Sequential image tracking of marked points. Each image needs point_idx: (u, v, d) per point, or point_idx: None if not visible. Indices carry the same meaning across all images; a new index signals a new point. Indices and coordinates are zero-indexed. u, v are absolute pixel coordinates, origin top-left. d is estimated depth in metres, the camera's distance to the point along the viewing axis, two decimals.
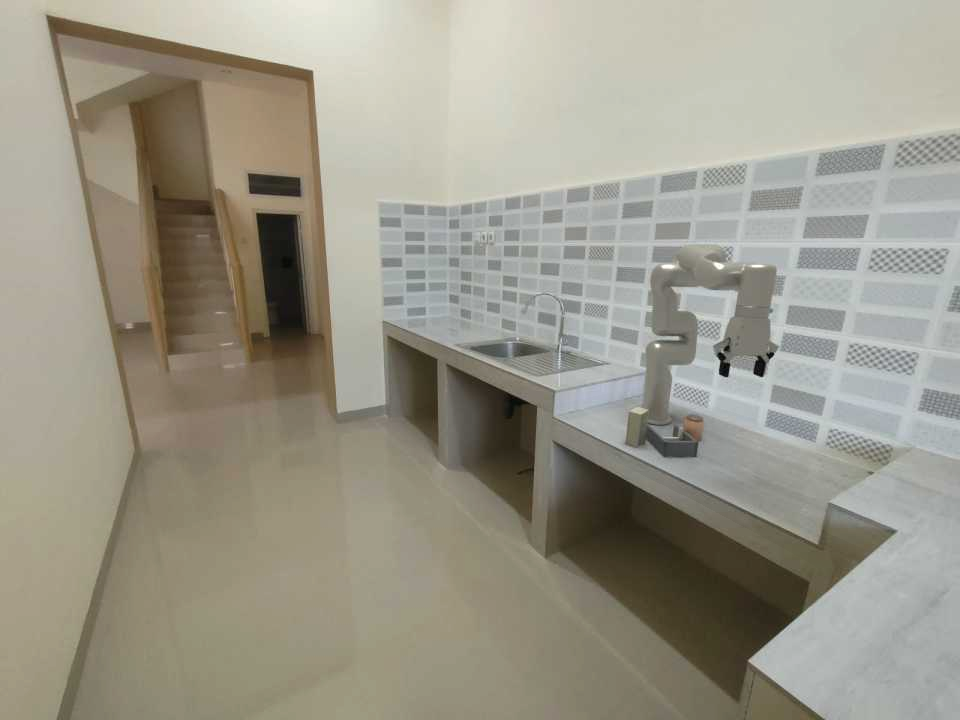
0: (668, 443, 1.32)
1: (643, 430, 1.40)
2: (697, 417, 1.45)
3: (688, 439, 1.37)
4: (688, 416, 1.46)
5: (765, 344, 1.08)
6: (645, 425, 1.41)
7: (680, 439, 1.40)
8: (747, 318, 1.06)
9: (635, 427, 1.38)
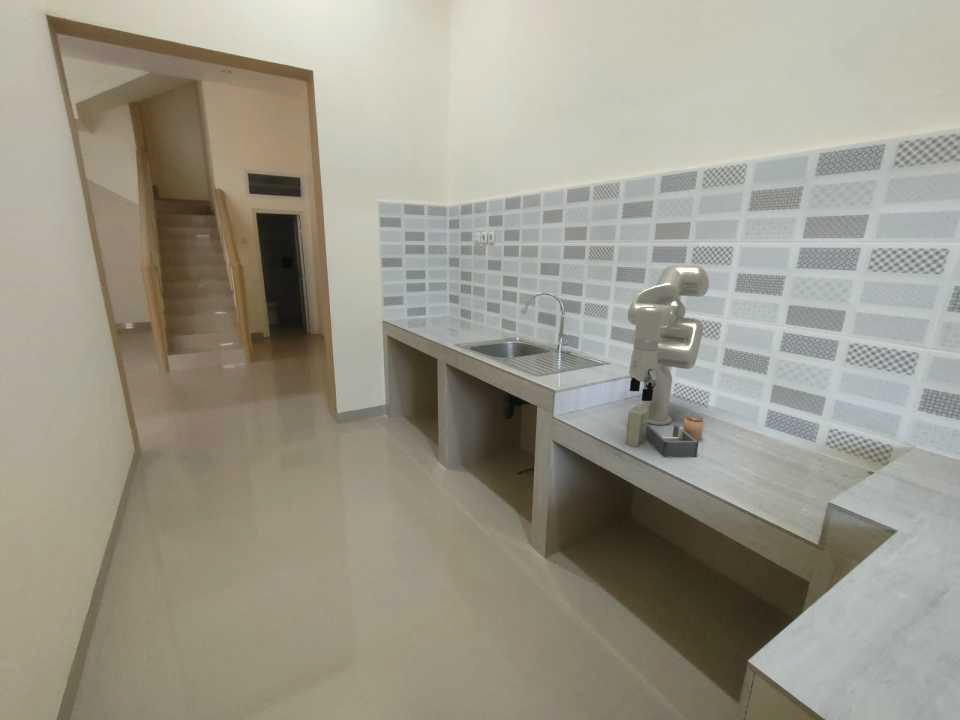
0: (668, 443, 1.32)
1: (643, 430, 1.40)
2: (697, 417, 1.45)
3: (688, 439, 1.37)
4: (688, 416, 1.46)
5: None
6: (645, 425, 1.41)
7: (680, 439, 1.40)
8: (657, 350, 1.32)
9: (635, 427, 1.38)
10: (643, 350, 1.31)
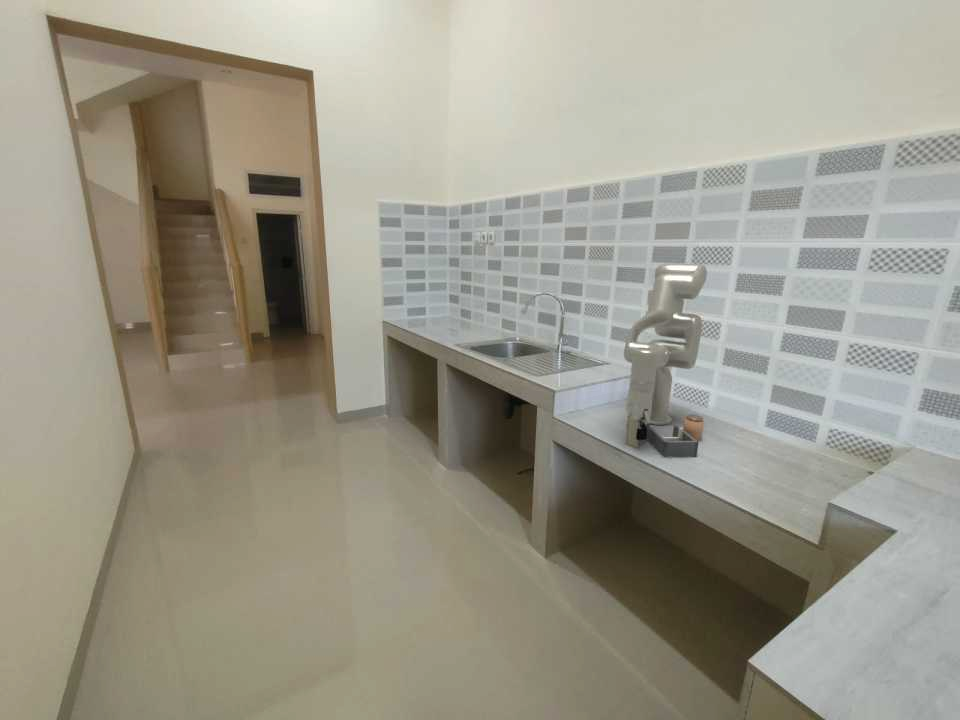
0: (668, 443, 1.32)
1: None
2: (697, 417, 1.45)
3: (688, 439, 1.37)
4: (688, 416, 1.46)
5: None
6: None
7: (680, 439, 1.40)
8: (652, 390, 1.35)
9: (635, 427, 1.38)
10: (639, 390, 1.35)
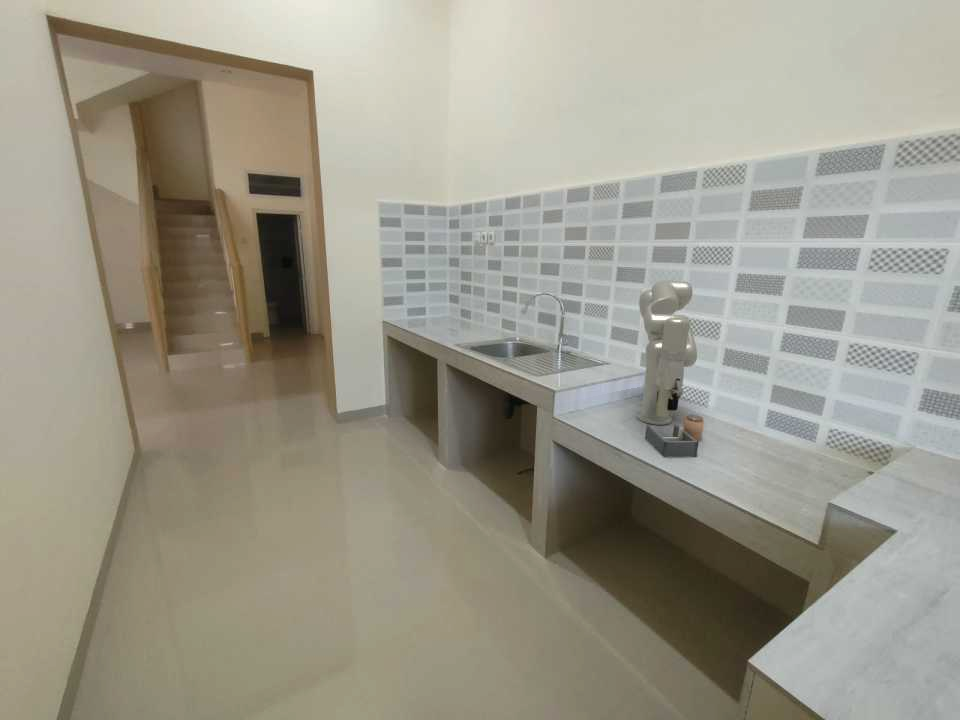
0: (668, 443, 1.32)
1: None
2: (697, 417, 1.45)
3: (688, 439, 1.37)
4: (688, 416, 1.46)
5: None
6: None
7: (680, 439, 1.40)
8: (684, 360, 1.36)
9: (666, 397, 1.38)
10: (670, 360, 1.35)
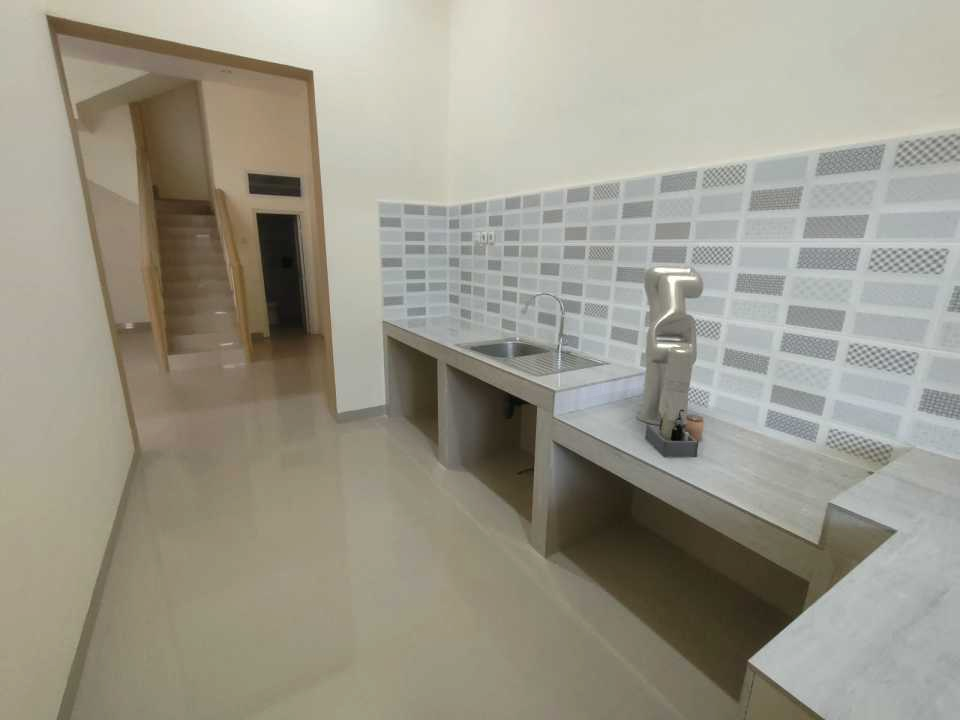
0: (668, 443, 1.32)
1: None
2: (697, 417, 1.45)
3: (688, 439, 1.37)
4: (688, 416, 1.46)
5: None
6: None
7: None
8: (688, 390, 1.33)
9: (670, 428, 1.36)
10: (674, 391, 1.32)
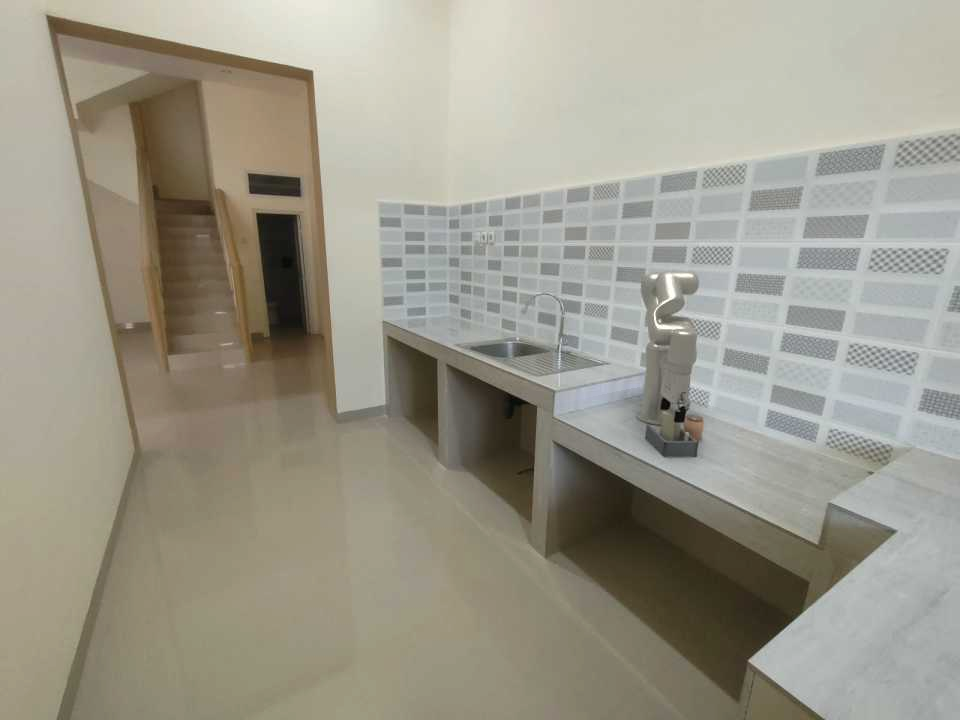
0: (668, 443, 1.32)
1: (677, 433, 1.38)
2: (697, 417, 1.45)
3: (688, 439, 1.37)
4: (688, 416, 1.46)
5: None
6: (679, 427, 1.39)
7: None
8: (690, 373, 1.32)
9: (669, 429, 1.36)
10: (676, 373, 1.31)
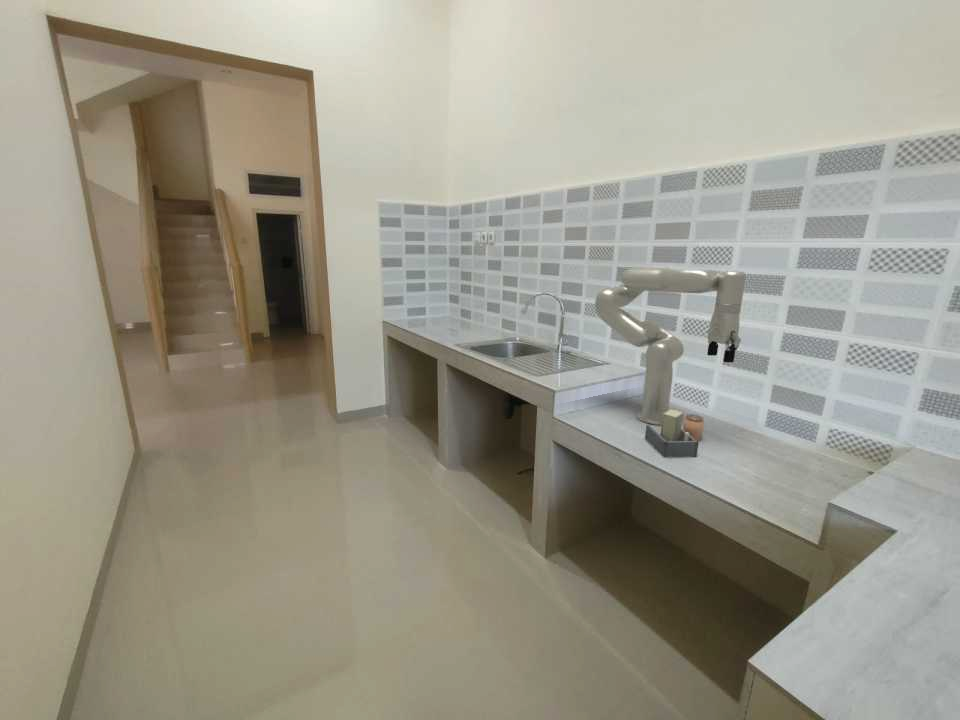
0: (668, 443, 1.32)
1: (677, 433, 1.38)
2: (697, 417, 1.45)
3: (688, 439, 1.37)
4: (688, 416, 1.46)
5: None
6: (679, 428, 1.38)
7: None
8: (739, 313, 1.37)
9: (670, 430, 1.36)
10: (726, 313, 1.36)
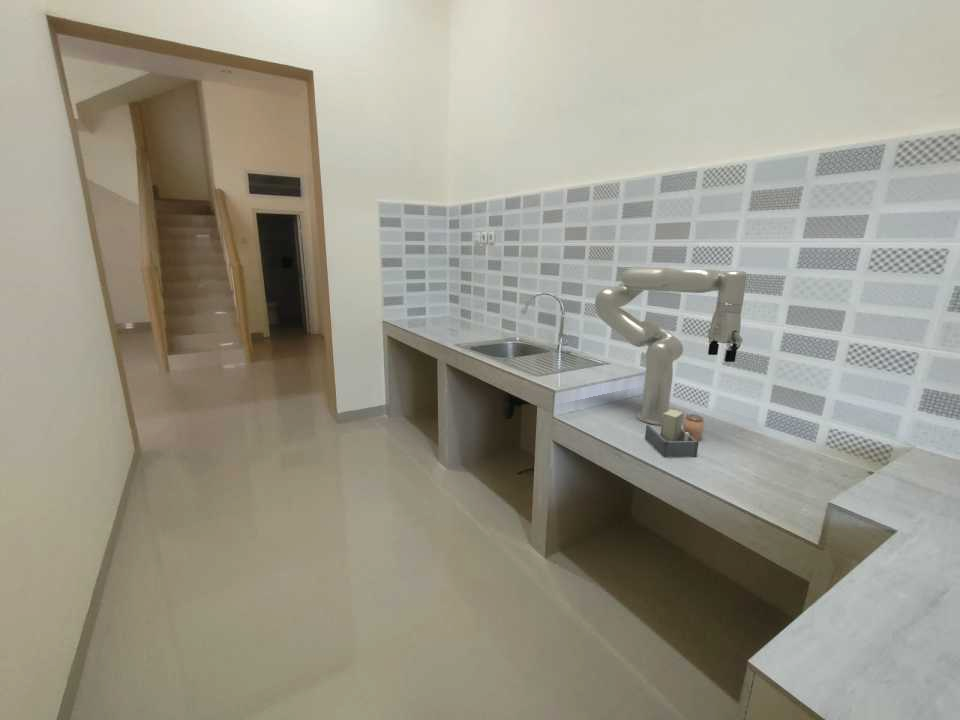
0: (668, 443, 1.32)
1: (677, 433, 1.38)
2: (697, 417, 1.45)
3: (688, 439, 1.37)
4: (688, 416, 1.46)
5: None
6: (679, 428, 1.38)
7: None
8: (740, 313, 1.37)
9: (670, 430, 1.36)
10: (727, 312, 1.37)
